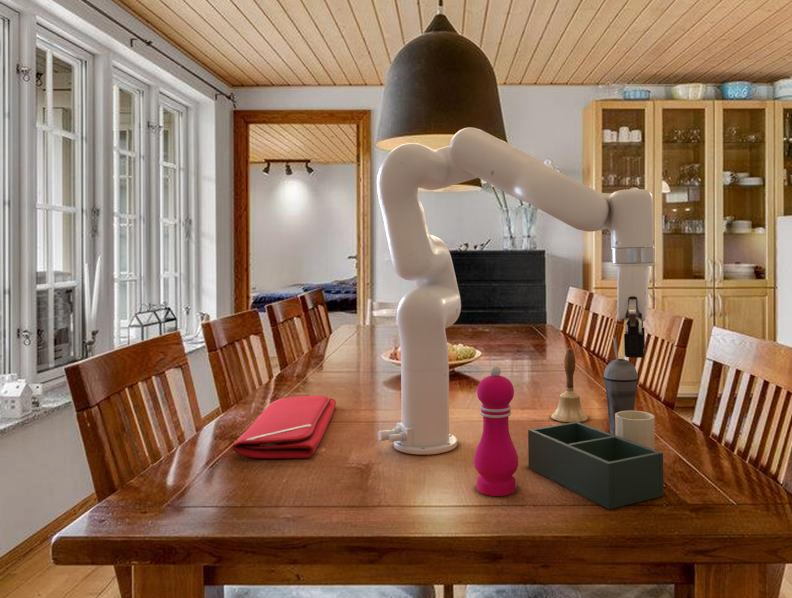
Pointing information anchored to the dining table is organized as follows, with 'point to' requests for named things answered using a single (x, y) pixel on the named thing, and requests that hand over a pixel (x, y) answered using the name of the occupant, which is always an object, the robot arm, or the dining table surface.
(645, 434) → the cup
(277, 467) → the dining table surface
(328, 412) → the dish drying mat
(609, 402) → the beverage cup
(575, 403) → the hand bell
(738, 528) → the dining table surface
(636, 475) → the storage box
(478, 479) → the pepper mill
